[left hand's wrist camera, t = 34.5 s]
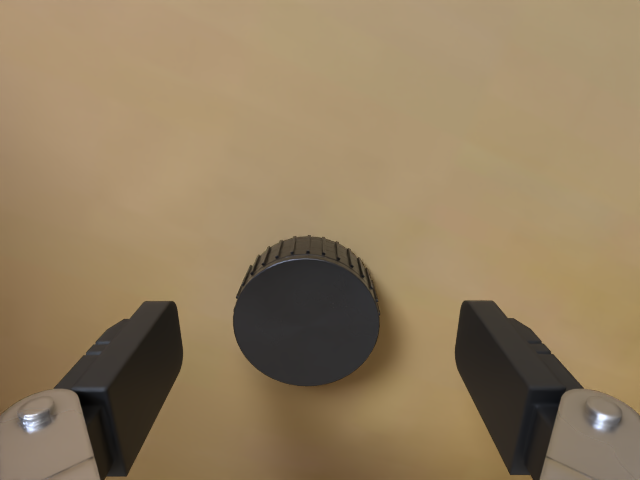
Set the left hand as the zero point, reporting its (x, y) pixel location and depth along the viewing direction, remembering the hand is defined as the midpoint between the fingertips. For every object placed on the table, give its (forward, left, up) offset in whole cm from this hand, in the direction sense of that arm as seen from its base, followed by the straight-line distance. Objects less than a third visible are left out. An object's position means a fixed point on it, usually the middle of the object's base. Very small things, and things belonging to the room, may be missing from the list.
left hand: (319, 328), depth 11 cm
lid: (+1, -1, -3) cm, 3 cm away
